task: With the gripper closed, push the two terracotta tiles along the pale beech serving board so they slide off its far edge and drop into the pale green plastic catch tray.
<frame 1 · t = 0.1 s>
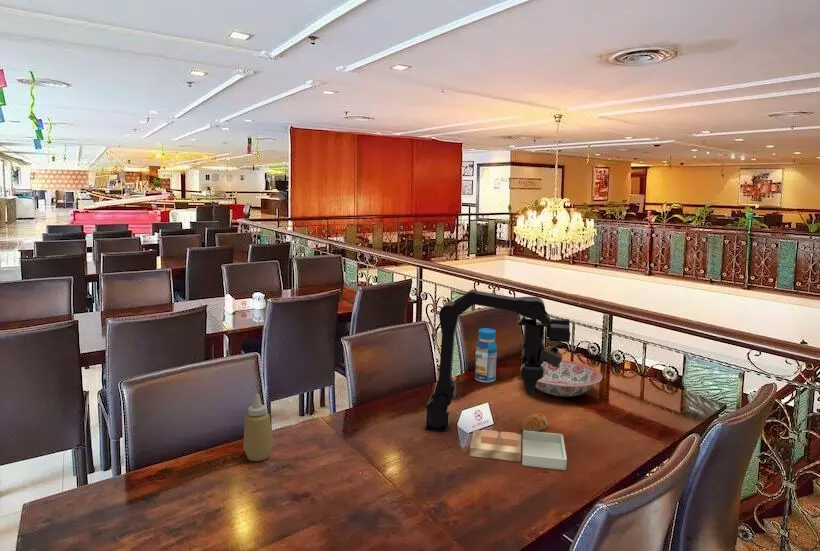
hand: (530, 390, 165), 15 cm above the table, fingers open, 9 cm apart
pastry: (534, 428, 174), on the table
squeeze bottle: (258, 457, 152), on the table
ceramic bowl: (559, 392, 205), on the table
tile 1: (489, 440, 159), point 2 cm above the table, touching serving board
catch tray: (543, 454, 156), on the table
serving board: (496, 449, 159), on the table
tile 2: (508, 442, 157), point 2 cm above the table, touching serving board
beverage bottle: (485, 379, 217), on the table
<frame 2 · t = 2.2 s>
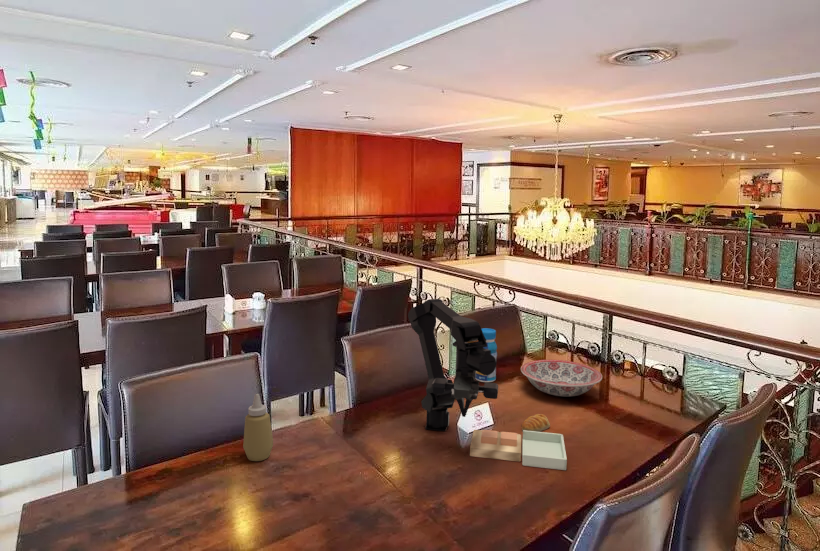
hand: (463, 416, 159), 9 cm above the table, fingers closed
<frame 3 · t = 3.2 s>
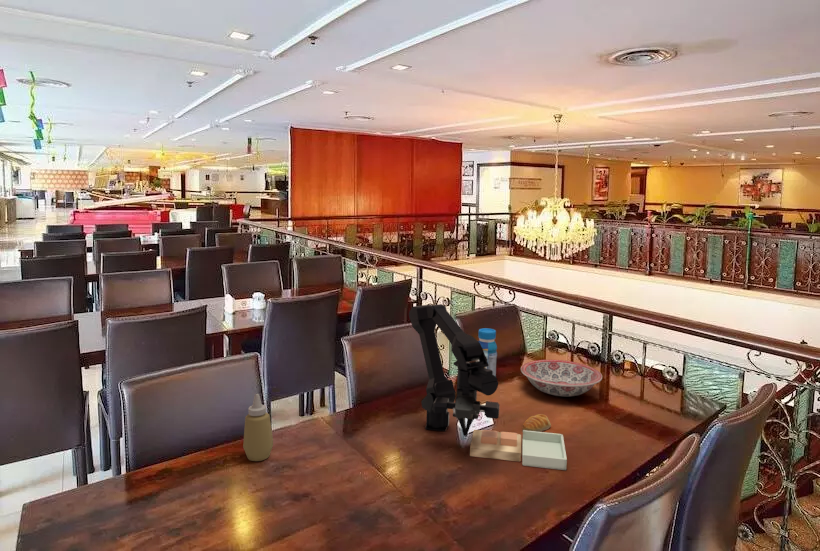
hand: (465, 435, 160), 3 cm above the table, fingers closed
nothing on the table moved.
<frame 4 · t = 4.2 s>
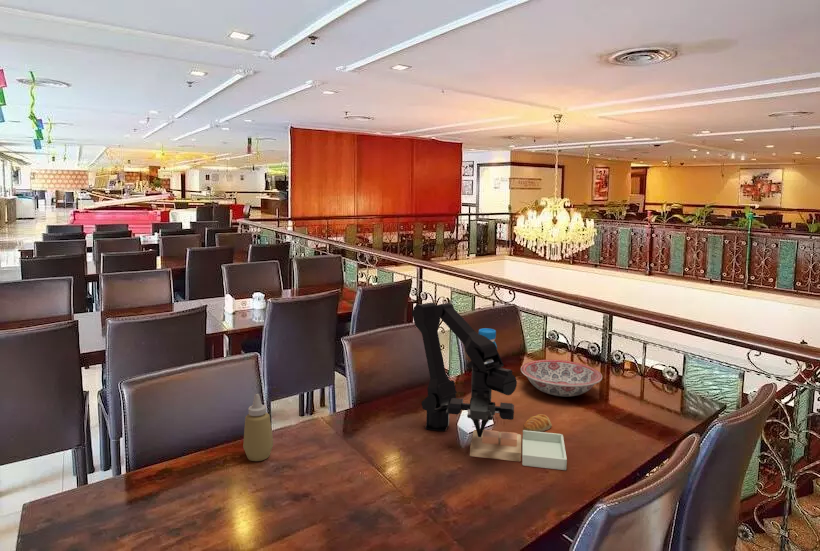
hand: (479, 436, 159), 3 cm above the table, fingers closed
tile 1: (490, 440, 159), point 3 cm above the table, touching gripper
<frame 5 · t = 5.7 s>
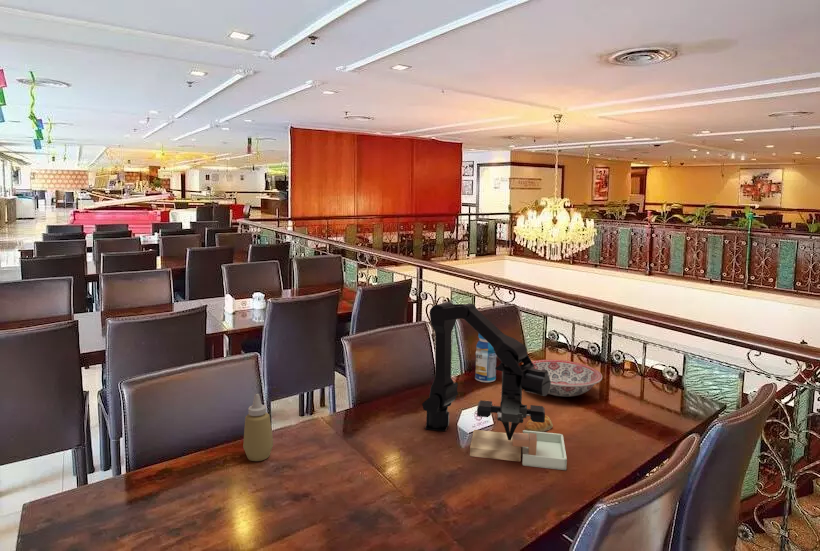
hand: (509, 439, 157), 3 cm above the table, fingers closed
tile 1: (520, 442, 157), point 2 cm above the table, touching gripper, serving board
tile 2: (528, 443, 156), point 3 cm above the table, tilted 91°, touching catch tray
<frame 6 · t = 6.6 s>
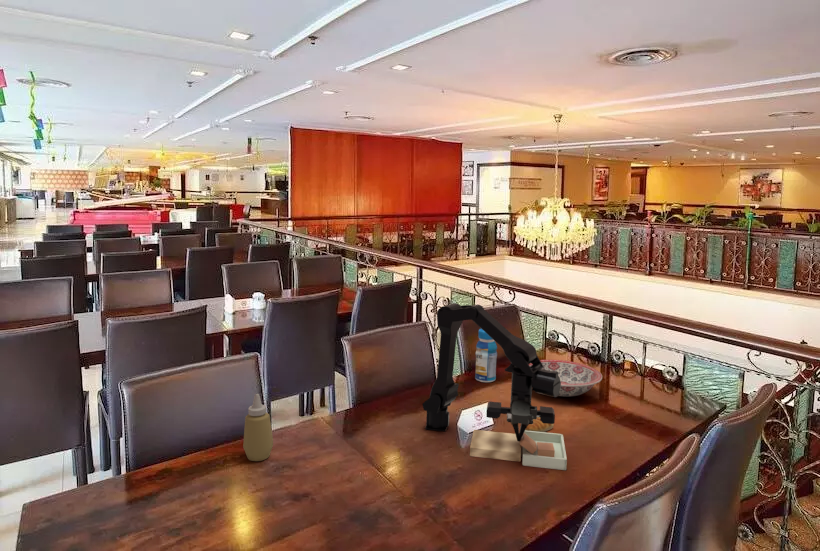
hand: (518, 440, 157), 3 cm above the table, fingers closed
tile 1: (525, 445, 157), point 2 cm above the table, tilted 37°, touching gripper
tile 2: (545, 446, 156), point 2 cm above the table, tilted 180°, touching catch tray
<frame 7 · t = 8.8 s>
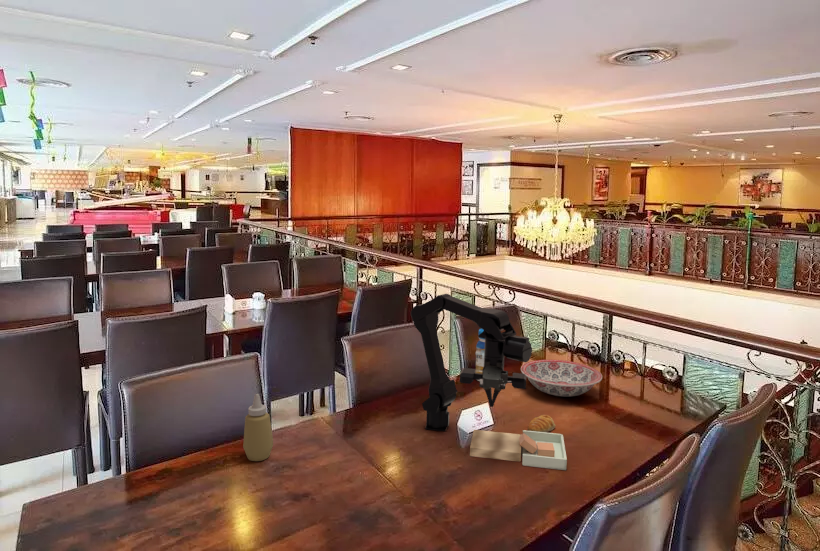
hand: (491, 406, 160), 12 cm above the table, fingers closed
tile 1: (525, 445, 157), point 2 cm above the table, tilted 34°, touching catch tray, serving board
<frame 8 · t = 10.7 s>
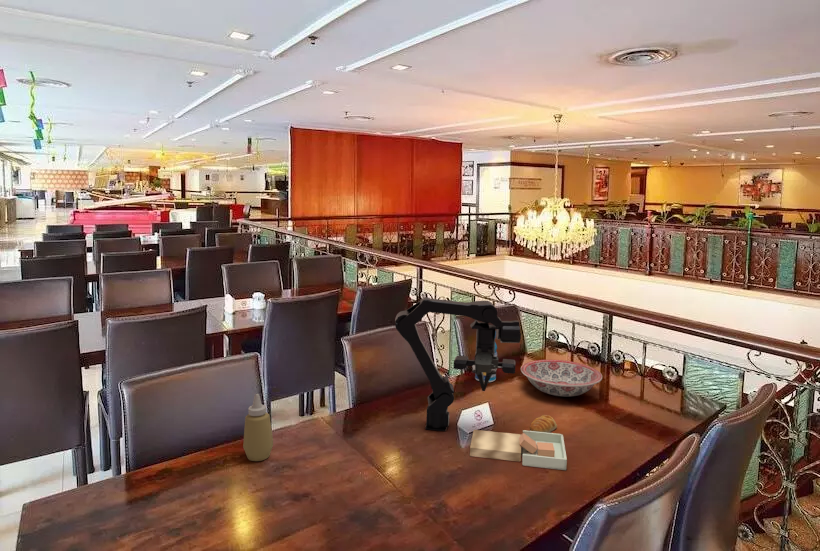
hand: (483, 390, 171), 12 cm above the table, fingers closed
at the end: tile 2 inside the target area (0.1 cm from its centre), point 2.4 cm above the table; tile 1 inside the target area (5.5 cm from its centre), point 1.7 cm above the table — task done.
